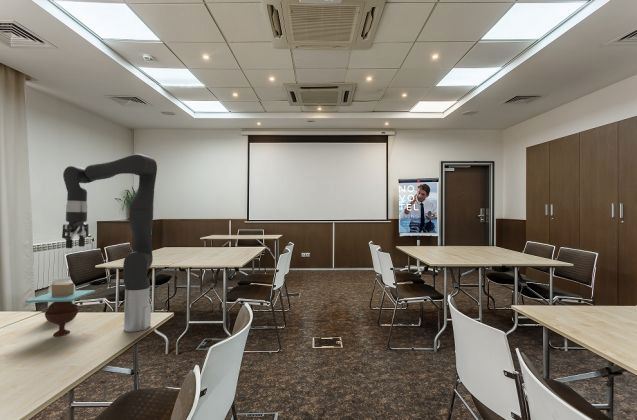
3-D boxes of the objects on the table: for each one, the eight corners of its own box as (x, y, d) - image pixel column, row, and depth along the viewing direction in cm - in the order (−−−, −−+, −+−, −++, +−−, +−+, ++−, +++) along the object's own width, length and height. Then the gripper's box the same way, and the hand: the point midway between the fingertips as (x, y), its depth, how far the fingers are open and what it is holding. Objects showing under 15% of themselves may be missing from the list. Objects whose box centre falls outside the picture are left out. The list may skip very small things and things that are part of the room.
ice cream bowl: (85, 329, 132) (86, 294, 133) (61, 339, 121) (62, 301, 122) (62, 328, 133) (63, 293, 134) (36, 338, 122) (37, 299, 123)
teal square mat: (95, 291, 137) (95, 279, 137) (71, 301, 121) (71, 287, 121) (55, 292, 135) (55, 280, 135) (25, 302, 119) (25, 288, 119)
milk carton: (74, 317, 148) (75, 277, 148) (57, 322, 141) (58, 280, 142) (64, 315, 150) (65, 276, 151) (47, 320, 143) (48, 278, 144)
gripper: (75, 211, 134) (74, 249, 133) (95, 211, 148) (94, 246, 147) (56, 210, 133) (55, 249, 132) (77, 211, 147) (76, 246, 146)
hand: (75, 247), depth 140 cm, fingers open, 8 cm apart
